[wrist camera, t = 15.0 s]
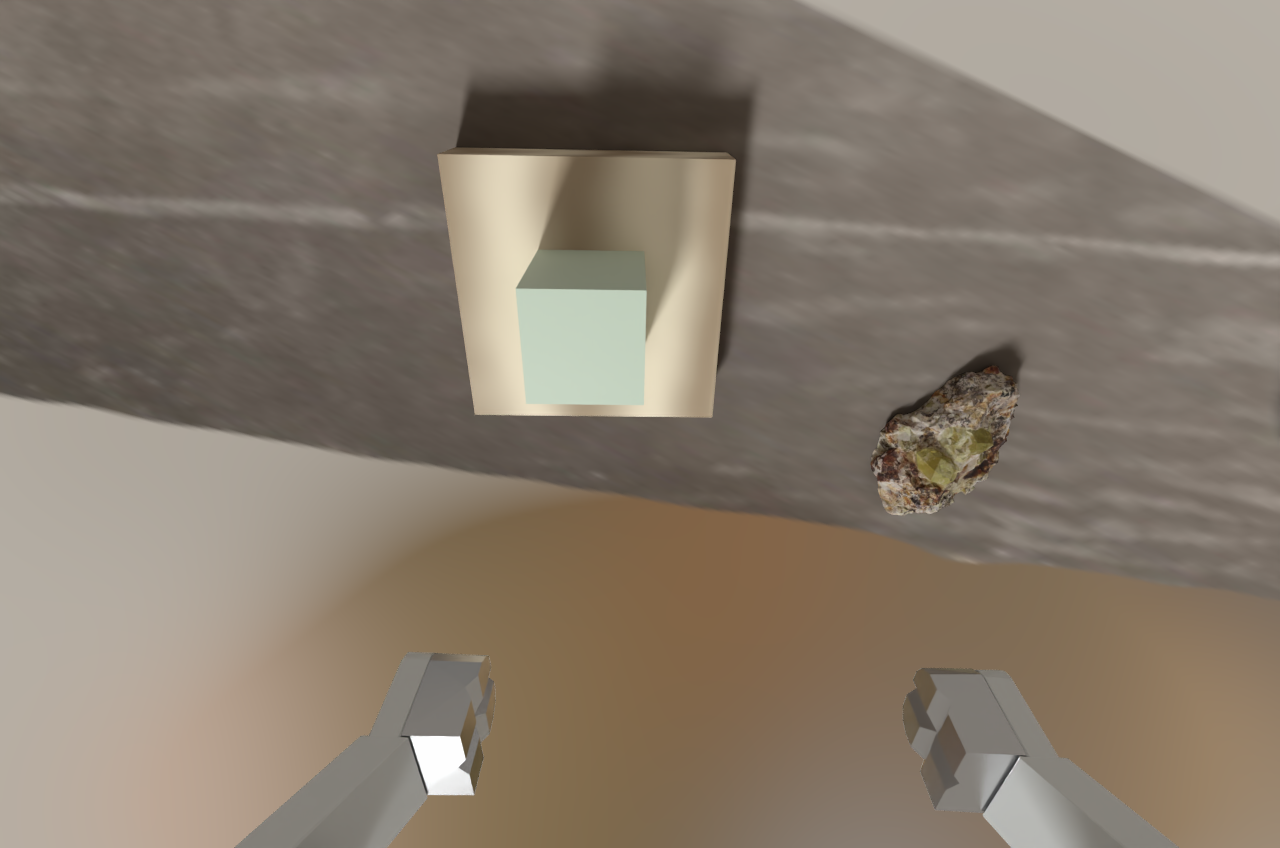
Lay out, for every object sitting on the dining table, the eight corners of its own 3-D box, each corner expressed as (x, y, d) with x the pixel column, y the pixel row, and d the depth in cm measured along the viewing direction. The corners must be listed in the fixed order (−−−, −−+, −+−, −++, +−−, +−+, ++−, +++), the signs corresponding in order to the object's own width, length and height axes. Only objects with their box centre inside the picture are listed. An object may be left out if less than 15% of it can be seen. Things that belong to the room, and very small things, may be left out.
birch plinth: (726, 152, 28) (735, 159, 25) (706, 392, 35) (712, 417, 32) (455, 147, 28) (437, 154, 25) (487, 389, 34) (475, 414, 32)
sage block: (644, 251, 27) (646, 290, 22) (642, 349, 30) (643, 405, 25) (537, 249, 27) (515, 288, 22) (545, 348, 30) (526, 404, 25)
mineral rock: (960, 541, 38) (874, 527, 35) (917, 497, 42) (835, 480, 38) (1079, 406, 33) (994, 374, 30) (1019, 369, 37) (936, 336, 33)
